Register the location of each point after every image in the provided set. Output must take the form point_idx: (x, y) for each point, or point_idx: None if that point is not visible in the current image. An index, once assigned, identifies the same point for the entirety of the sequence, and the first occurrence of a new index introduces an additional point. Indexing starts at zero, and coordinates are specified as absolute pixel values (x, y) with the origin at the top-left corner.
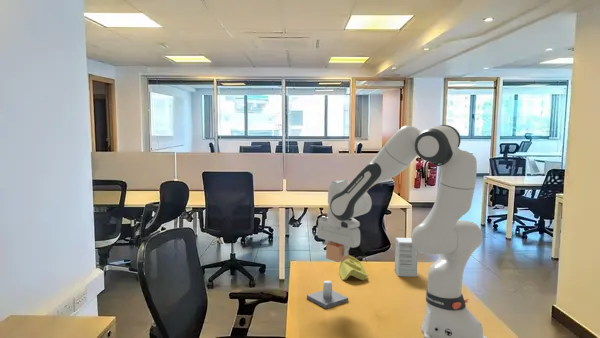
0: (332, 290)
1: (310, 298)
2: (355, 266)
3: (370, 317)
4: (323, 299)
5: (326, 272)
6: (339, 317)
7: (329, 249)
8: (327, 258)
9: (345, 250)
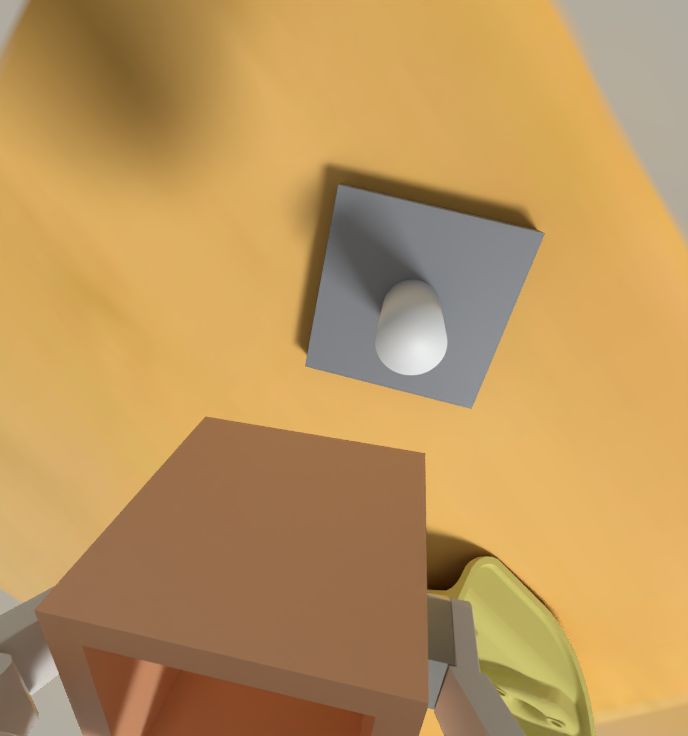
0: (438, 398)
1: (501, 222)
2: (490, 678)
3: (109, 262)
4: (403, 248)
5: (626, 598)
6: (205, 136)
7: (338, 569)
8: (397, 451)
9: (30, 604)
